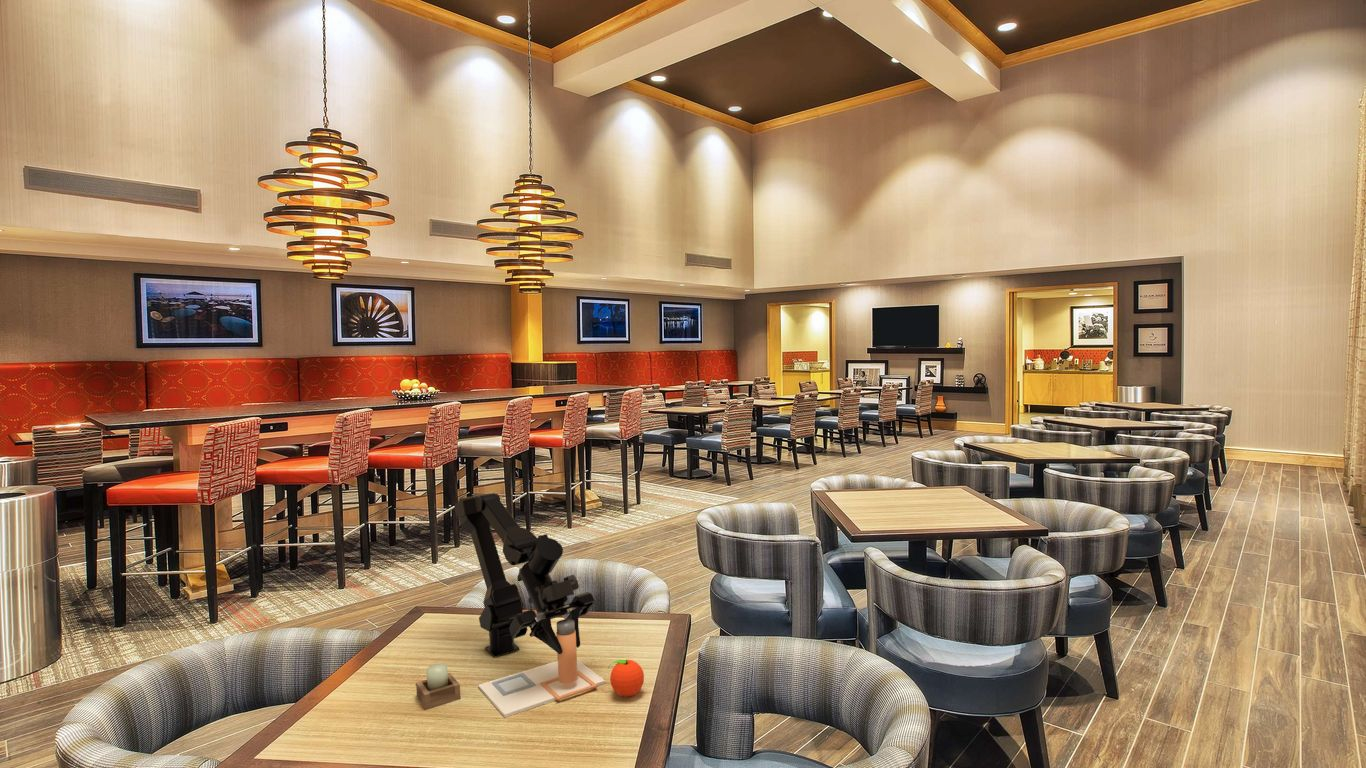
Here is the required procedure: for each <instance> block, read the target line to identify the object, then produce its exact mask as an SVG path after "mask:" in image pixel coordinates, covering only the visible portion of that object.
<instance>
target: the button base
mask: <svg viewBox="0 0 1366 768" xmlns="http://www.w3.org/2000/svg"><path fill="white" fill-rule="evenodd" d="M447 673H448V672H447ZM415 687H416V697H418V698H417V699H418V701H419V702H420V704H421V705H422V707H423V708H424V710H428V709H433V708H436V707H438V706H442V705H445V704H448V703H452V702H455V701H458V700H460V699H461V685H460V683H459V682H458V681H457V679H456V677H455V676H454V675H453V674H452V673H451V672H449V673H448V686H446V687H442V688H439V689H436V690H432V691H429V690H428V685H427V679H424V680H421V681H417V682H415Z"/></svg>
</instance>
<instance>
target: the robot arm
mask: <svg viewBox="0 0 1366 768" xmlns="http://www.w3.org/2000/svg"><path fill="white" fill-rule="evenodd" d="M454 512H455V516H456V517H457V518H458V520H459V523H460V526H461V527H462V528H463V529H464V530H466V531H467V532H469V534H470V535H471V540H472V543H473V546H474V550H475V553H476V556H477V560H478V563H479V566H480V570H481V573H482V576H483V579H484V583H485V586H486V591H485V595H484V598H483V606H484V609H482V612H481V614H480V615H479V617H478V621H479V626H480V628H481V629H484V630H486V632H488V637H489V638H488V639H489V645H486V646H485V647H484V650H486V651H487V653H488V654H490V655H491V656H492V657H493V658H495V657H500V656H502V655H507V654H510V653H514V652H517V651H520V646H518V645H517V644H516V643H515V639H518V638H521V637H523V636H525V635H526V634H527V632H528V628H529V629H530V633H529V634H528V635H529V637H530V638H533V637H534V638H536V639H538V640H539V641H541V642H542V643H544V644H545V645H547V646H548V647H549V648H551V649H552V650H553V651H555V653H558V654H562V652H563V651H562V648H561V645H560V643H559V641H558V639H557V637H556V633H555V631H554V629H553V627H552V620H553V619H556V618H559V617H562V618H563V620H565V619H571V620H574V623H575V631H576V649H577V648H580V647H581V636H580V627H579V618H580V617H583V616H586V615H587V614H588V613H589V611H590V610H591V609H592V607H593V606H594V605H595V603H596V602H597V601H596V599H595V597H594V595H593V594H592V592H589V591H586V592H584V593H580V594H577V595H575V593H574V592H575V591H576V590H578V589H579V587H580V586H579V585H580V584H579V581H578V579H577V578H576V576H575V574H571V575H568V576H565V577H564V578H563V581H560V582H558V581H557V580H552V576H551V575H550V574H551V573H552V572H553V571H554V569H555V567H556V566H557V564H558V563H559V561H560V559H561V558H562V555H563V553H564V549H563V546H562V544H561V543H559V541H557V540H556V539H553V538H550V537H549V536H548V534H547V533H546V534H541V535H538V536H536V535H535V534H534V533H533V532H532V531H531V530H529V529H526V528H523V527H521V526H520V524H518V523H517V522H516V520H515V518H514V517H513V516H512V514H511V513H510V512H509V510H508V509H507V508H506V507H505V505H504V504H503V503H502V500H501V498H500V495H499V494H498V493H495V492H492V493H486V494H479V495H473V496H467V497H461V498H459V500H458V501H457V502H456V503H455V505H454ZM491 527H492V528H493V530H494V532H495V533H496V535H497V536H498V537H499V538H500V540H501V542H502V551H501V552H502V553H503V555H504V557H505V560H506V561H507V563H508V564H509V565H511V566H517V565H521V564H523V565H522V566H521V568H519V569H518V575H517V579H516V580H517V582H522V583H523V585H524V587H525V590H526V591H527V593H528V595H529V598H528V599H527V601H528V603H529V605H530V604H533V607H534V609H535V610H532V609H528V610H526V611H524V610H523V609H524V603H523V600H522V598H521V596H520V593H519V588H518V586H517V584H515V583H513V584H511V583H510V582H509V581H508V579H507V578H506V574H505V571H504V568H503V565H502V561H501V557H500V555H499V552H498V549H497V546H496V542H495V538H494V535H493V533H492V530H491ZM573 595H575V596H574V597H573V599H572V600H571V602H570V603H567V604H565V603H566V602H567V601H568V600H569V598H568V596H573ZM535 611H536V612H535Z"/></svg>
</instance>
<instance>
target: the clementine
mask: <svg viewBox="0 0 1366 768" xmlns="http://www.w3.org/2000/svg"><path fill="white" fill-rule="evenodd" d="M614 664H615V665H614ZM611 665H614V666H613V668H612V669H611V672H610V675H609V676H610V677H609V681H610V685H611V688H612V690H613V691H614V692H615V693H616V694H617V695H619V696H621V697H625V698H626V697H632V696H635V695H636V694H638V693H639V691H641V689H642V687H643V685H644V681H645V673H644V671H643V668H642V667H641V665H640V664H639V663H638V662H636V661H634V660H632V659H618V660H615V661H613V662H612V663H611ZM609 668H610V666H608V667H607V671H608V670H609Z"/></svg>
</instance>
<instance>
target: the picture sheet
mask: <svg viewBox="0 0 1366 768" xmlns="http://www.w3.org/2000/svg"><path fill="white" fill-rule="evenodd" d="M577 670H578V679H577V680H576V681H575V682H572V683H560V682H559V678H558V660H556V661H552V662H549V663H546V664H543V665H539V666H536V667H532V668H530V669H526V670H523V671H519V672H516V673H513V674H510V675H509V674H508V675H507V676H503V677H500V678H496V679H493V680H490V681H487V682H484V683H480V684H477V686H478V687H477V688H478V689H479V691H480V692H482V694H483V695H484V696H485V697H486V698H487V700H489V702H490V703H491V704H492V705H493V706H494V707H495V708H496V709H497V711H498V712H499V713H500V714H501V715H502V717H504V718H508V717H511V716H513V715H516V714H519V713H522V712H525V711H528V710H530V709H534V708H537V707H540V706H542V705H543V706H544V705H545V704H549V703H552V702H554V701H560V700H564V699H565V698H569V697H572V696H575V695H578V694H580V693H584V692H586V691H590V690H592V689H595V688H598V687H599V686H603V685H605V684H606V680H605V679H603V678H602V677H601V676H600V675H598V674H597V673H596V672H594V671H593V670H591V669H590V668H589V667H588V666H586V665H585V664H584V663H582V662H581V661H580V660H579V659H577Z"/></svg>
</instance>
